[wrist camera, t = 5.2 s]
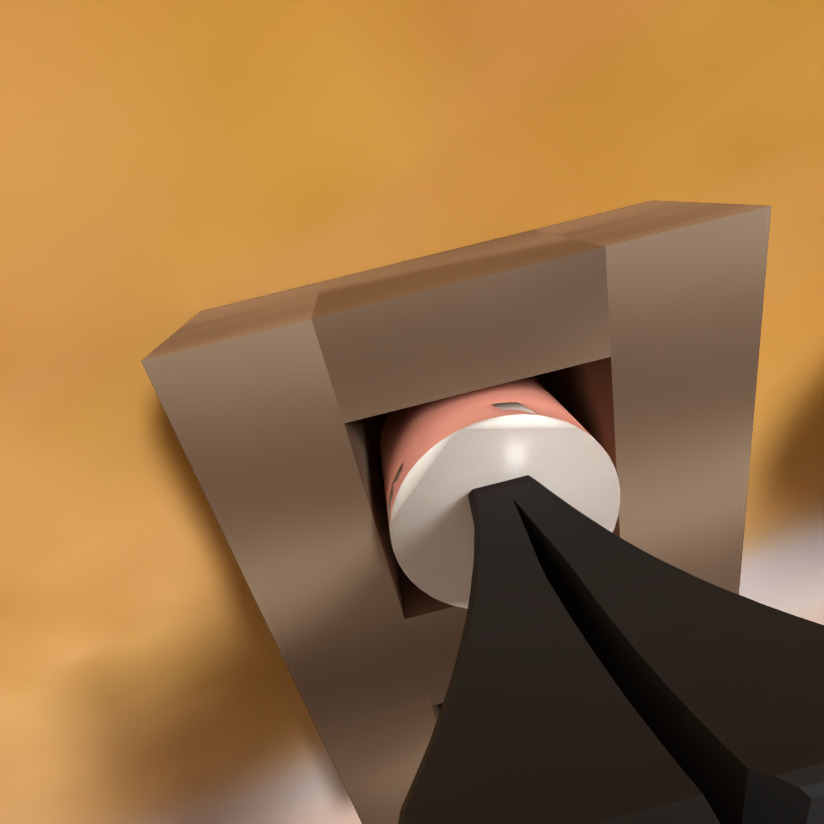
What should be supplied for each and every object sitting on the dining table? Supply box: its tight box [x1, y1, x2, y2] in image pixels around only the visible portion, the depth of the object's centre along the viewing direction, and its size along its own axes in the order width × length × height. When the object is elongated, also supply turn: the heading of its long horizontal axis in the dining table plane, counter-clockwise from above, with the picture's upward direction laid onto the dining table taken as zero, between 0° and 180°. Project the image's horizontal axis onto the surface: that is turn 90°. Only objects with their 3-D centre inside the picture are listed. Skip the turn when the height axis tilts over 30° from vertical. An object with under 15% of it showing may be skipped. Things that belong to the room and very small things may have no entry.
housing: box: [141, 201, 771, 824], centre depth 15 cm, size 19×12×4 cm, turn 12°
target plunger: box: [380, 376, 620, 609], centre depth 12 cm, size 5×5×4 cm
